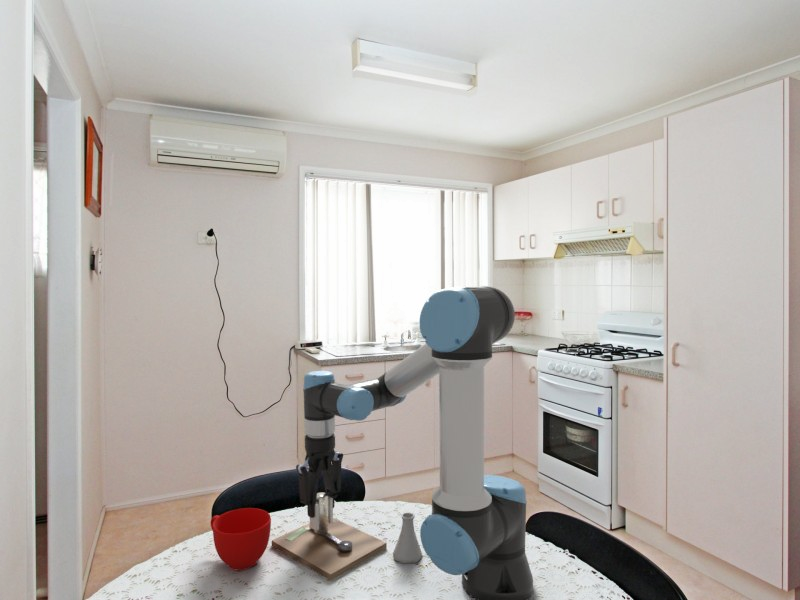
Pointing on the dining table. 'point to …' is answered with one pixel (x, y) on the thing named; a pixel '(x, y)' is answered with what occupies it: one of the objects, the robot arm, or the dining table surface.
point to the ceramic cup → (241, 536)
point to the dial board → (329, 548)
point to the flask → (407, 542)
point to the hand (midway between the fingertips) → (321, 524)
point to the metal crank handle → (324, 523)
